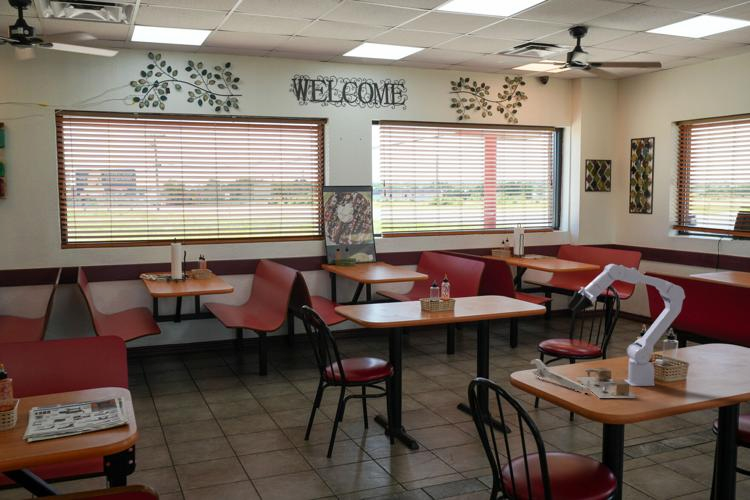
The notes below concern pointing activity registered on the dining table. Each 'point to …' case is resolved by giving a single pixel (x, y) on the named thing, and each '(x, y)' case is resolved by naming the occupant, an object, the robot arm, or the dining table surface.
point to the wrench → (556, 376)
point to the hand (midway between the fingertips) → (571, 309)
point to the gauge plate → (607, 387)
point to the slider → (599, 373)
